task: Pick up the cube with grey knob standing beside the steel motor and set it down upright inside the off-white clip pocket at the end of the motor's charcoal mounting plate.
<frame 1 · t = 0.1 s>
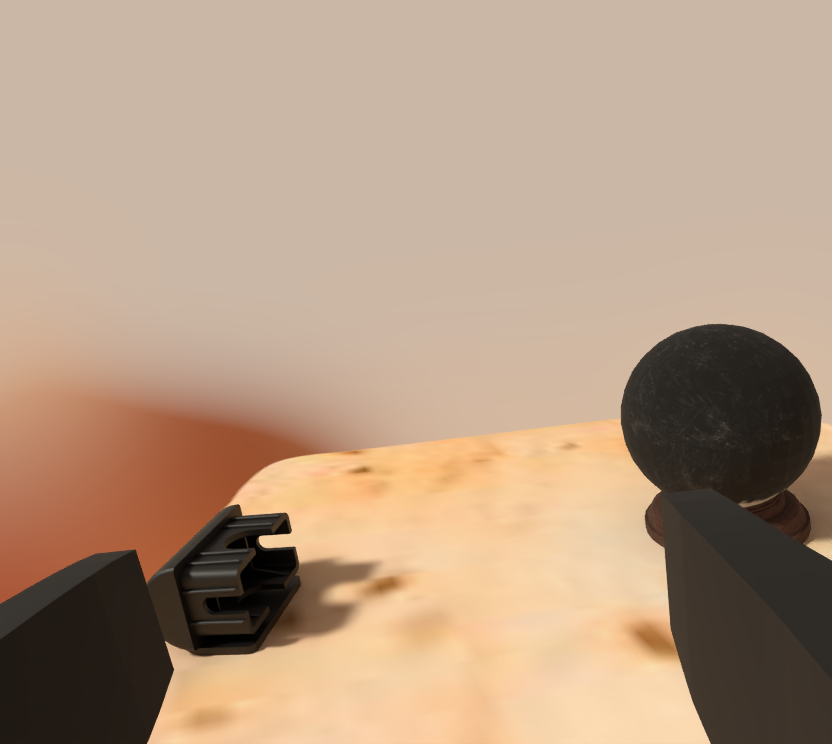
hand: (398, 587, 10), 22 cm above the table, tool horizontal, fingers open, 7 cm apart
black orb on pedestal: (724, 526, 54), on the table
end cap: (237, 620, 53), on the table
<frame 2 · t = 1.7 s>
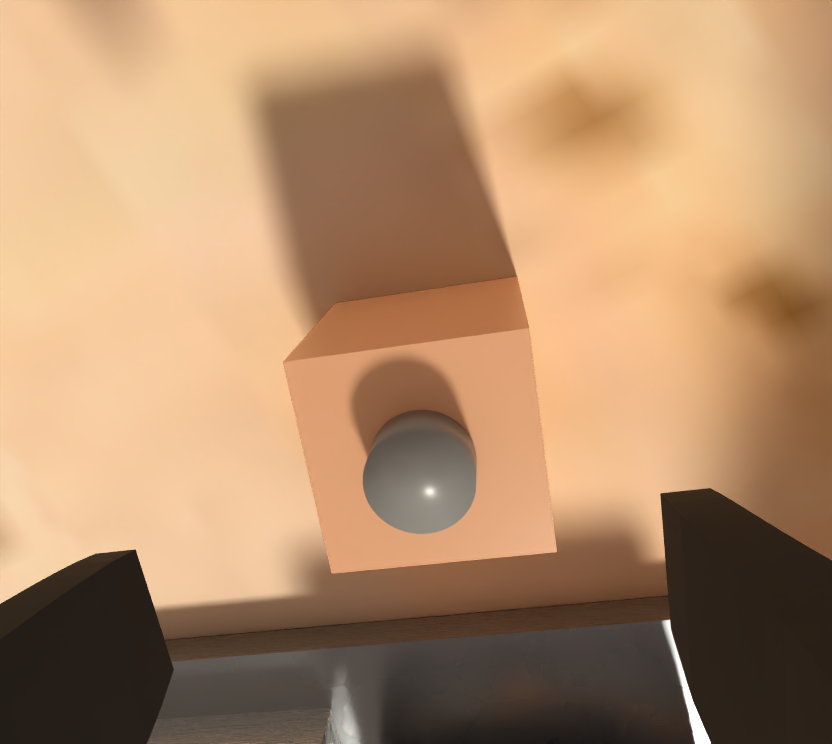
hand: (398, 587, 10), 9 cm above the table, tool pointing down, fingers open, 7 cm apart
cube with grey knob: (439, 376, 18), on the table
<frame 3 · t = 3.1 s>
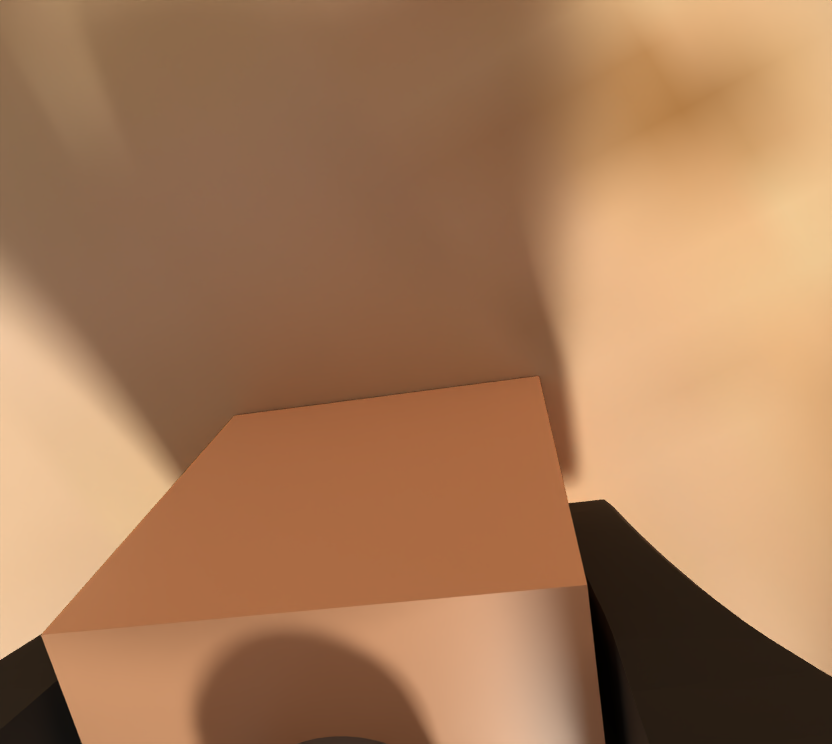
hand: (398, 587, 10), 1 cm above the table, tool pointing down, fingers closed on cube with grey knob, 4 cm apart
cube with grey knob: (408, 533, 11), on the table, touching gripper
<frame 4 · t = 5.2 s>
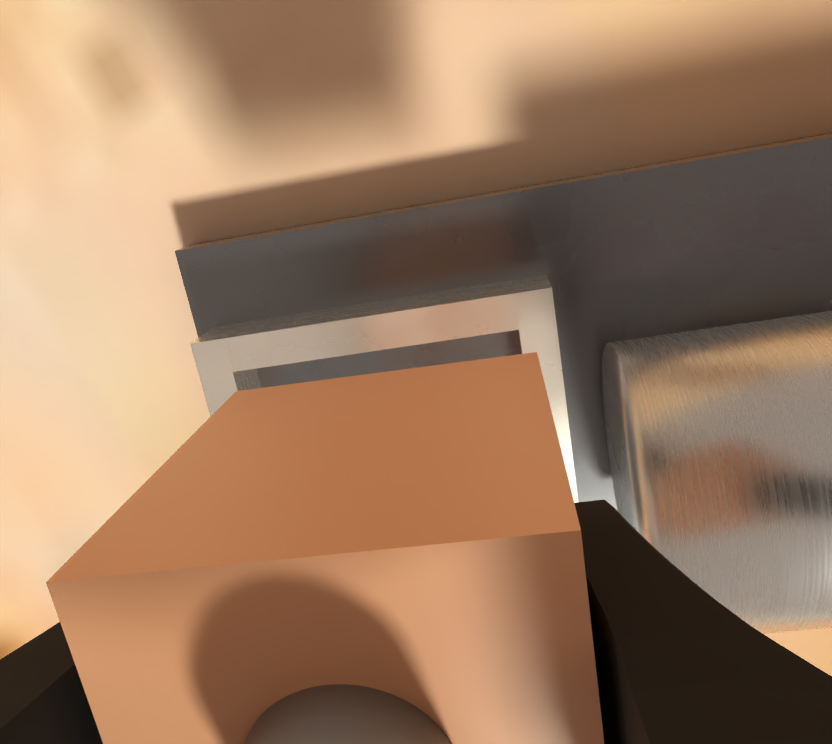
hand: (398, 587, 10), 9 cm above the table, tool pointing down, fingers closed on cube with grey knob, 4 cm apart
cube with grey knob: (407, 509, 11), point 8 cm above the table, touching gripper
motor mount: (619, 413, 19), on the table
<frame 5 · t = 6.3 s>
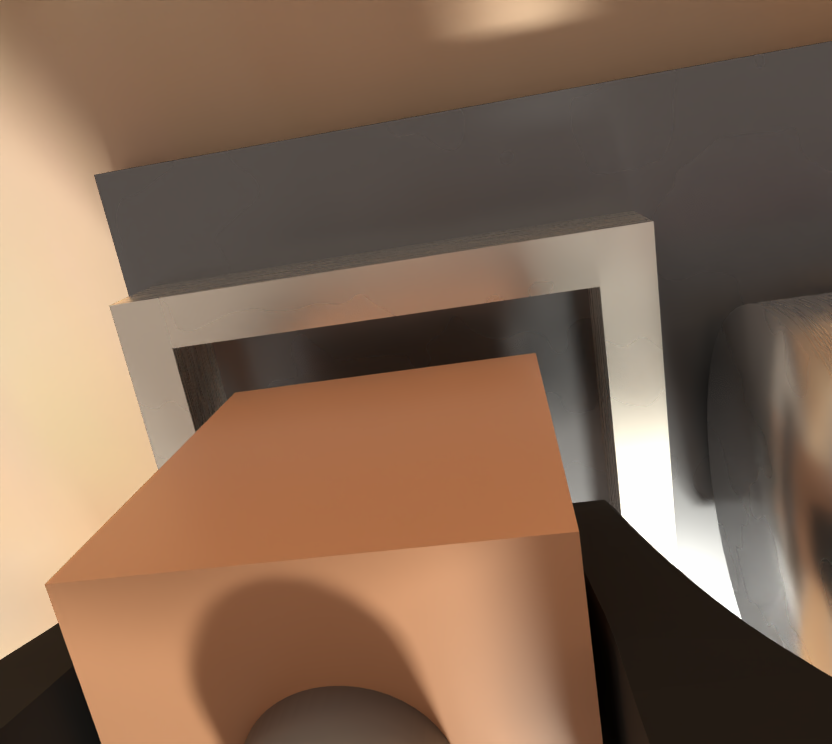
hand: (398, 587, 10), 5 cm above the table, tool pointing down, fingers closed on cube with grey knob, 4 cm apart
cube with grey knob: (406, 510, 11), point 3 cm above the table, touching gripper
motor mount: (720, 414, 13), on the table
when the fingers open (4 cm above the table, at t = 7.3 s): cube with grey knob drops 1 cm, resting on motor mount.
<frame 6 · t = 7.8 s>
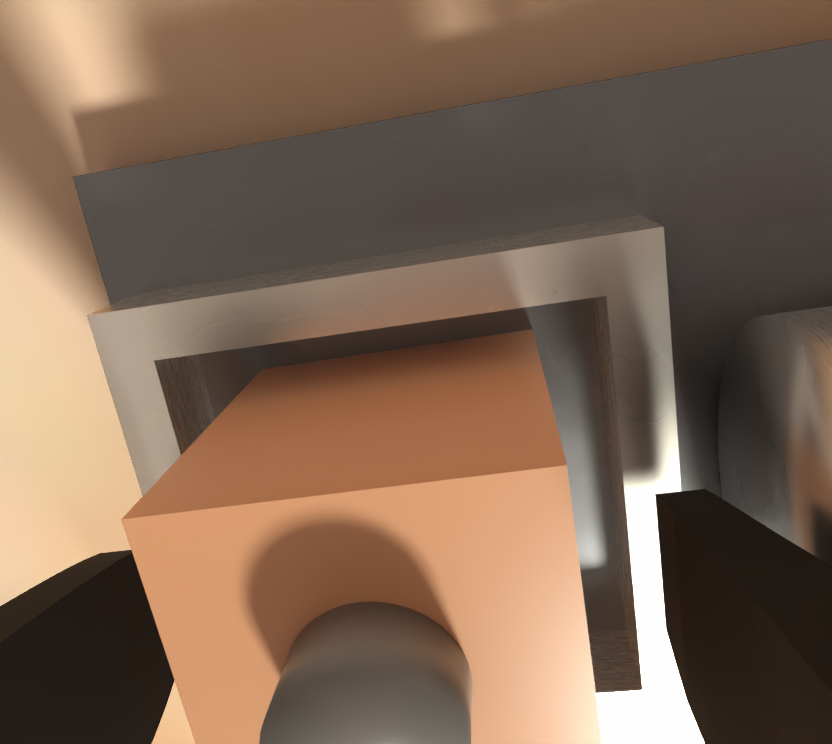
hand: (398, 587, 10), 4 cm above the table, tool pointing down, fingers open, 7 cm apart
cube with grey knob: (417, 474, 13), point 1 cm above the table, touching motor mount
motor mount: (730, 427, 13), on the table
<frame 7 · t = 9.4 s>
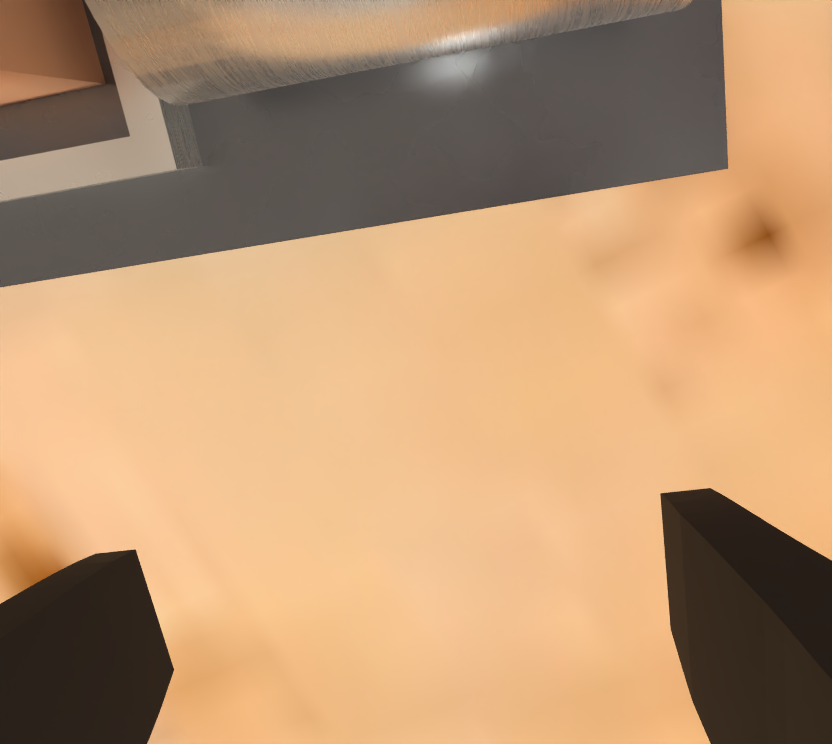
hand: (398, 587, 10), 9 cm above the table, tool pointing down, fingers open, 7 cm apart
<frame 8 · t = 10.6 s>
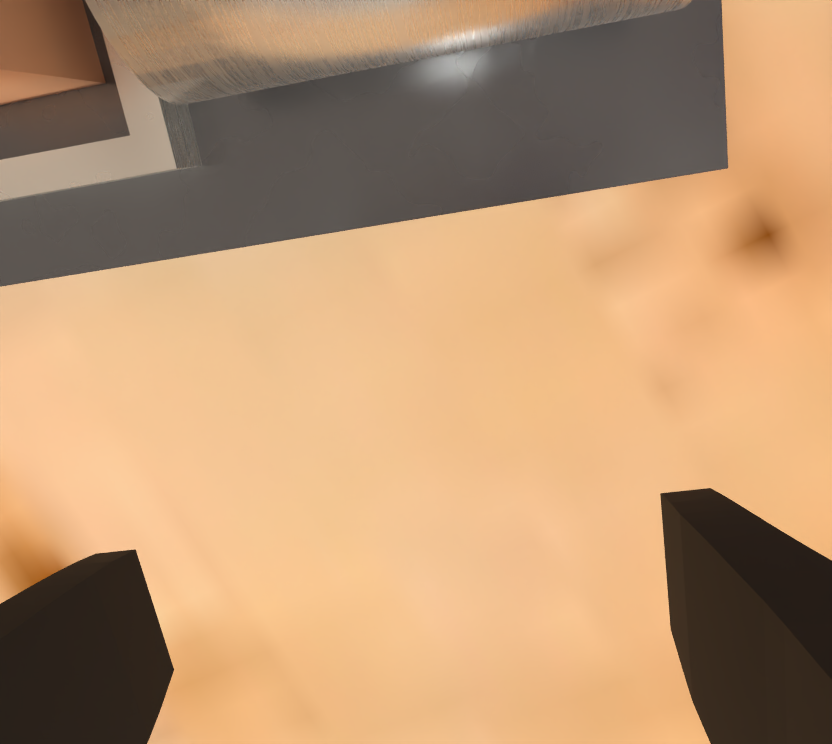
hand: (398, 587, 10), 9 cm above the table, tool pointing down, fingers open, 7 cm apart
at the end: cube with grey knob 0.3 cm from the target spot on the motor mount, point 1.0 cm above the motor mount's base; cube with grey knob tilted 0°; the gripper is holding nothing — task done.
